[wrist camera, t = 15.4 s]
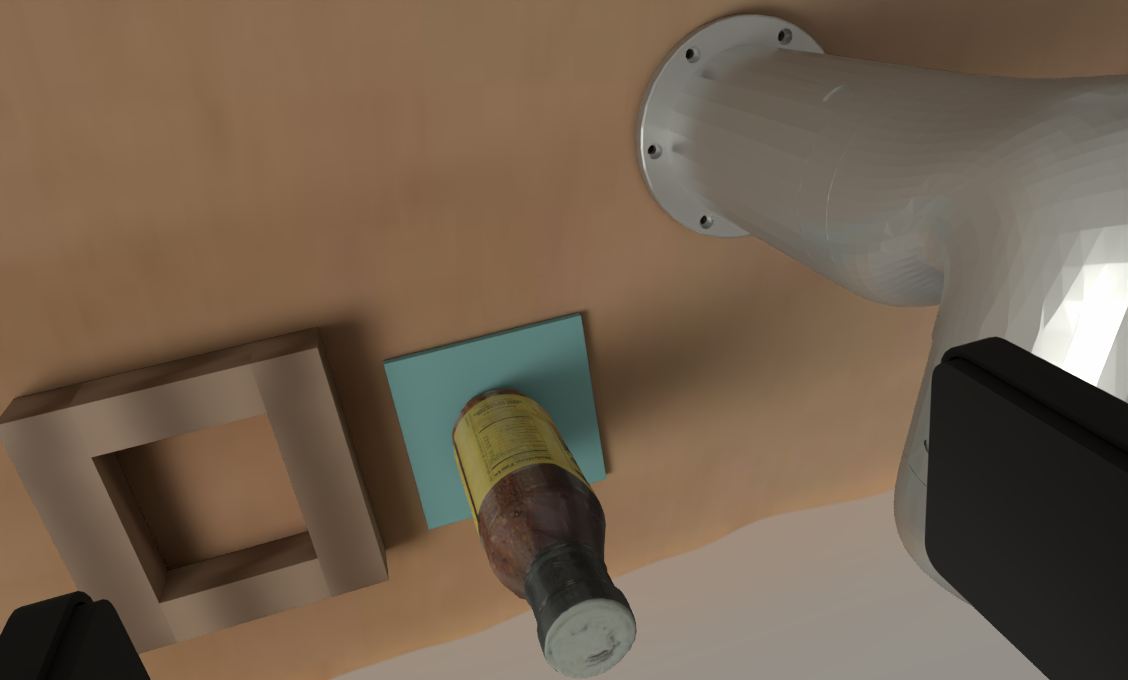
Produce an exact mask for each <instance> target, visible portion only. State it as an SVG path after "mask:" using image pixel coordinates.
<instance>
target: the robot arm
mask: <svg viewBox="0 0 1128 680" xmlns="http://www.w3.org/2000/svg"><path fill="white" fill-rule="evenodd" d="M779 33H781V37H780V39H779V40H778V35H779ZM688 49H689V50H690V51H691V54H690V56H689V58H686V51H687V50H688ZM651 145H653V151H652V152H651V153H648V148H649V147H650V146H651ZM636 150H637V159H638V163H639V167H640V170H641V174H642V177H643V179H644V182H645V184H646V186H647V188H648V190H649V192H650V194H651V195H652V197H653V198H654V199H655V201H656V202H657V203H658V204H659V206H660V207H661V208H662V209H663V210H664V211H665V212H666V213H667V214H669V215H670V216H671V217H672V218H673V219H674V220H676V221H677V222H679V223H680V224H682V225H684V226H685V227H687V228H688V229H691V230H693V231H695V232H698V233H700V234H703V235H707V236H713V237H719V238H738V237H744V236H749V235H754V236H755V237H757V238H759V239H760V240H762V241H764V242H766V243H767V244H769V245H771V246H772V247H774V248H776V249H778V250H779V251H781V252H783V253H784V254H786V255H788V256H790V257H791V258H793V259H795V260H796V261H798V262H800V263H802V264H803V265H805V266H807V267H808V268H810V269H812V270H814V271H815V272H817V273H819V274H820V275H822V276H824V277H826V278H827V279H829V280H831V281H832V282H834V283H836V284H838V285H840V286H842V287H844V288H845V289H847V290H849V291H851V292H852V293H854V294H856V295H858V296H861V297H863V298H865V299H868V300H870V301H873V302H877V303H881V304H886V305H890V306H898V307H924V306H933V305H939V304H940V306H939V310H938V314H937V318H936V321H935V325H934V329H933V332H932V340H933V342H932V346H931V350H930V354H929V357H928V361H927V365H926V368H925V372H924V376H923V379H922V383H921V387H920V391H919V394H918V398H917V402H916V405H915V409H914V413H913V416H912V420H911V424H910V428H909V431H908V435H907V439H906V442H905V446H904V450H903V453H902V457H901V461H900V465H899V469H898V475H897V480H896V485H895V495H894V516H895V522H896V526H897V530H898V533H899V536H900V538H901V541H902V542H903V545H904V547H905V549H906V550H907V552H908V553H909V555H910V556H911V557H912V558H913V560H914V561H915V562H916V564H917V565H918V566H919V567H920V568H921V569H922V570H923V571H924V572H925V573H926V574H927V575H929V577H930V578H932V579H933V580H934V581H935V582H936V583H937V584H939V585H940V586H941V587H943V588H944V589H946V590H947V591H948V592H950V593H951V594H953V595H955V596H956V597H958V598H959V599H961V600H962V601H964V602H966V603H968V604H970V605H972V606H973V607H974V608H975V609H976V610H977V611H978V612H979V613H980V614H981V615H982V616H984V617H985V618H986V619H987V620H988V621H989V622H990V623H991V624H992V625H993V626H994V627H995V628H996V629H997V630H998V631H999V632H1000V633H1001V634H1003V636H1004V637H1006V638H1007V639H1008V640H1009V641H1010V642H1011V643H1012V644H1013V645H1014V646H1015V647H1016V648H1017V649H1018V650H1019V651H1020V652H1021V653H1022V654H1023V655H1024V656H1025V657H1027V659H1028V660H1030V661H1031V662H1032V663H1033V664H1034V665H1035V666H1036V667H1037V668H1038V669H1039V670H1040V671H1041V672H1042V673H1043V674H1044V675H1045V676H1046V677H1047V678H1048V679H1049V680H1128V74H1121V75H1106V76H1092V77H1073V78H1012V77H1001V76H989V75H978V74H966V73H959V72H951V71H944V70H937V69H928V68H920V67H913V66H906V65H899V64H892V63H885V62H878V61H871V60H863V59H856V58H849V57H842V56H835V55H828V54H826V53H825V52H824V50H823V49H822V48H821V46H820V45H819V44H818V43H817V42H816V41H815V40H814V39H813V38H812V36H811V35H809V34H808V33H806V32H805V31H804V30H802V29H801V28H799V27H798V26H797V25H795V24H793V23H790V22H788V21H785V20H783V19H780V18H778V17H772V16H766V15H759V14H739V15H733V16H728V17H723V18H719V19H717V20H715V21H712V22H710V23H707V24H705V25H703V26H701V27H699V28H698V29H696V30H695V31H693V32H692V33H690V34H689V35H687V36H686V37H684V38H683V39H682V40H681V41H680V42H679V43H678V44H677V45H676V46H675V47H674V48H673V49H672V50H671V51H670V52H668V53H667V55H666V56H665V58H664V59H663V60H662V62H661V63H660V65H659V66H658V67H657V69H656V70H655V71H654V73H653V75H652V77H651V79H650V82H649V84H648V86H647V88H646V90H645V92H644V95H643V98H642V102H641V105H640V109H639V112H638V118H637V127H636ZM703 216H704V219H703V221H701V222H700V219H701V218H702V217H703ZM0 680H151V679H150V677H149V675H148V673H147V671H146V669H145V667H144V665H143V663H142V661H141V659H140V657H139V655H138V653H137V651H136V649H135V647H134V645H133V643H132V641H131V639H130V637H129V635H128V633H127V631H126V629H125V627H124V625H123V623H122V621H121V619H120V617H119V615H118V613H117V611H116V609H115V608H114V606H113V604H112V603H111V602H110V601H108V600H106V599H102V600H98V601H95V602H93V600H92V598H91V597H90V596H89V595H88V594H86V593H85V592H82V591H76V592H73V593H69V594H65V595H62V596H58V597H55V598H51V599H47V600H44V601H40V602H37V603H33V604H29V605H26V606H22V607H20V608H18V609H16V610H14V612H13V613H12V614H11V616H10V617H9V619H8V621H7V623H6V625H5V627H4V629H3V631H2V633H1V635H0Z"/></svg>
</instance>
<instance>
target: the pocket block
mask: <svg viewBox="0 0 1128 680" xmlns="http://www.w3.org/2000/svg"><path fill="white" fill-rule="evenodd" d="M265 413H267V414H268V417H269V420H270V423H271V426H272V429H273V431H274V434H275V437H276V440H277V443H278V446H279V449H280V451H281V454H282V457H283V460H284V463H285V466H286V469H287V471H288V474H289V477H290V480H291V483H292V486H293V489H294V491H295V494H296V497H297V500H298V503H299V506H300V509H301V511H302V514H303V517H304V520H305V523H306V526H307V529H308V532H305V533H301V534H298V535H294V536H290V537H287V538H283V539H280V540H276V541H273V542H269V543H265V544H262V545H258V546H255V547H251V548H247V549H244V550H240V551H237V552H233V553H230V554H226V555H222V556H219V557H215V558H212V559H208V560H205V561H201V562H197V563H194V564H190V565H187V566H183V567H179V568H176V569H172V570H169V571H168V570H167V568H166V566H165V563H164V561H163V559H162V557H161V555H160V552H159V550H158V548H157V546H156V543H155V541H154V539H153V537H152V535H151V532H150V530H149V528H148V526H147V523H146V521H145V519H144V517H143V515H142V512H141V510H140V508H139V506H138V503H137V501H136V499H135V497H134V495H133V492H132V490H131V488H130V486H129V484H128V481H127V479H126V477H125V475H124V472H123V470H122V468H121V466H120V464H119V461H118V459H117V457H116V455H115V451H119V450H123V449H127V448H131V447H135V446H139V445H143V444H146V443H150V442H154V441H158V440H162V439H166V438H170V437H174V436H178V435H182V434H186V433H190V432H194V431H198V430H202V429H206V428H210V427H214V426H218V425H222V424H226V423H230V422H234V421H237V420H241V419H245V418H249V417H253V416H257V415H261V414H265ZM0 439H1V441H2V443H3V445H4V447H5V449H6V451H7V453H8V455H9V457H10V459H11V461H12V463H13V465H14V467H15V468H16V470H17V472H18V474H19V476H20V478H21V480H22V482H23V484H24V486H25V488H26V490H27V492H28V494H29V496H30V498H31V499H32V501H33V503H34V505H35V507H36V509H37V511H38V513H39V515H40V517H41V519H42V521H43V523H44V525H45V527H46V529H47V531H48V532H49V534H50V536H51V538H52V540H53V542H54V544H55V546H56V548H57V550H58V552H59V554H60V556H61V558H62V560H63V562H64V563H65V565H66V567H67V569H68V571H69V573H70V575H71V577H72V579H73V581H74V583H75V585H76V587H77V589H78V591H82V592H85V593H86V594H88V595H89V596H90V597H91V598H92V600H93V602H95V601H98V600H102V599H106V600H108V601H110V602H111V603H112V604H113V606H114V608H115V609H116V611H117V613H118V615H119V617H120V619H121V621H122V623H123V625H124V627H125V629H126V631H127V633H128V635H129V637H130V639H131V641H132V643H133V645H134V647H135V649H136V651H137V653H138V654H140V653H143V652H147V651H150V650H154V649H157V648H160V647H164V646H167V645H171V644H174V643H177V642H181V641H184V640H187V639H191V638H194V637H198V636H201V635H204V634H208V633H211V632H215V631H218V630H221V629H225V628H228V627H232V626H235V625H238V624H242V623H245V622H249V621H252V620H255V619H259V618H262V617H266V616H269V615H272V614H276V613H279V612H283V611H286V610H289V609H293V608H296V607H300V606H303V605H306V604H310V603H313V602H317V601H320V600H323V599H327V598H330V597H334V596H337V595H340V594H344V593H347V592H351V591H354V590H357V589H361V588H364V587H368V586H371V585H374V584H378V583H381V582H385V581H388V580H389V577H388V568H387V559H386V551H385V547H384V544H383V541H382V538H381V534H380V531H379V528H378V524H377V521H376V518H375V515H374V511H373V508H372V505H371V501H370V498H369V495H368V492H367V488H366V485H365V482H364V478H363V475H362V472H361V469H360V465H359V462H358V459H357V455H356V452H355V449H354V446H353V442H352V439H351V436H350V432H349V429H348V426H347V423H346V419H345V416H344V413H343V409H342V406H341V403H340V400H339V396H338V393H337V390H336V386H335V383H334V380H333V377H332V373H331V370H330V367H329V363H328V360H327V357H326V354H325V350H324V347H323V344H322V340H321V337H320V334H319V331H318V327H315V328H311V329H307V330H303V331H299V332H294V333H290V334H286V335H282V336H278V337H273V338H269V339H265V340H261V341H256V342H252V343H248V344H244V345H240V346H235V347H231V348H227V349H223V350H219V351H214V352H210V353H206V354H202V355H198V356H193V357H189V358H185V359H181V360H177V361H172V362H168V363H164V364H160V365H155V366H151V367H147V368H143V369H139V370H134V371H130V372H126V373H122V374H118V375H113V376H109V377H105V378H101V379H97V380H92V381H88V382H84V383H80V384H75V385H71V386H67V387H63V388H59V389H54V390H50V391H46V392H42V393H38V394H33V395H29V396H25V397H21V398H17V399H13V400H12V402H11V403H10V404H9V406H8V407H7V408H6V410H5V411H4V413H3V414H2V415H1V417H0Z"/></svg>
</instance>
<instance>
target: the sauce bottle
mask: <svg viewBox="0 0 1128 680" xmlns="http://www.w3.org/2000/svg"><path fill="white" fill-rule="evenodd" d="M452 442H453V445H454V446H453V449H454V457H455V460H456V464H457V467H458V471H459V474H460V477H461V480H462V484H463V487H464V490H465V493H466V496H467V500H468V503H469V506H470V509H471V512H472V516H473V519H474V522H475V525H476V528H477V532H478V535H479V538H480V541H481V543H482V545H483V547H484V549H485V550H486V553H487V556H488V559H489V562H490V566H491V568H492V570H493V572H494V573H495V575H496V576H497V578H498V579H499V580H500V582H502V584H503V585H504V586H506V587H507V588H508V589H509V590H511V591H512V592H513V593H514V594H515V595H517V596H518V597H519V598H522V599H526V600H527V602H528V603H529V605H530V606H531V607H532V609H533V612H534V615H535V618H536V621H537V624H538V625H537V632H538V638H539V642H540V645H541V648H542V651H543V653H544V656H545V658H546V660H547V662H548V663H549V665H550V666H551V667H552V668H554V669H555V670H556V671H557V672H559V673H561V674H563V675H565V676H568V677H572V678H588V677H592V676H596V675H599V674H601V673H604V672H606V671H607V670H609V669H610V668H612V667H613V666H615V665H616V664H617V663H618V662H619V661H620V660H621V659H622V658H623V657H624V656H625V655H626V653H627V652H628V651H629V650H630V648H631V646H632V644H633V642H634V641H635V635H636V622H635V618H634V615H633V613H632V610H631V608H630V606H629V603H628V601H627V599H626V598H625V596H624V594H623V593H622V592H621V591H620V590H619V589H618V588H616V587H615V586H614V584H613V582H612V580H611V578H610V576H609V574H608V573H607V567H606V565H605V562H604V541H605V527H606V523H605V516H604V512H603V509H602V507H601V504H600V502H599V500H598V499H597V497H596V495H595V493H594V491H593V490H592V488H591V487H590V485H589V483H588V482H587V480H586V478H585V477H584V475H583V473H582V471H581V469H580V468H579V466H578V464H577V463H576V461H575V459H574V457H573V455H572V453H571V452H570V450H569V449H568V447H567V446H566V444H565V442H564V440H563V439H562V437H561V435H560V433H559V431H558V430H557V428H556V426H555V425H554V423H553V421H552V420H551V418H550V416H549V415H548V413H547V412H546V411H545V409H544V408H543V407H542V406H541V405H540V404H539V403H537V402H536V401H535V400H533V399H532V398H530V397H529V396H528V395H526V394H523V393H521V392H519V391H516V390H514V389H509V388H504V389H497V390H492V391H489V392H486V393H482V394H480V395H479V396H477V397H474V398H472V399H471V400H470V401H468V402H467V404H466V405H465V407H464V408H463V409H462V410H461V411H460V414H459V416H458V418H457V420H456V422H455V426H454V428H453V432H452Z"/></svg>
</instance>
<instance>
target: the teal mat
mask: <svg viewBox="0 0 1128 680" xmlns="http://www.w3.org/2000/svg"><path fill="white" fill-rule="evenodd" d="M383 363H384V367H385V371H386V375H387V378H388V382H389V386H390V389H391V393H392V397H393V400H394V404H395V408H396V411H397V415H398V419H399V422H400V426H401V430H402V433H403V437H404V441H405V444H406V448H407V452H408V455H409V459H410V463H411V466H412V470H413V474H414V477H415V481H416V485H417V488H418V492H419V496H420V499H421V503H422V507H423V510H424V514H425V518H426V521H427V525H428V529H433V528H436V527H440V526H443V525H447V524H450V523H454V522H457V521H461V520H464V519H468V518H471V517H473V516H472V512H471V509H470V506H469V503H468V500H467V496H466V493H465V490H464V487H463V484H462V480H461V477H460V474H459V471H458V467H457V464H456V460H455V457H454V449H453V446H454V445H453V442H452V432H453V428H454V426H455V422H456V420H457V418H458V416H459V414H460V411H461V410H462V409H463V408H464V407H465V405H466V404H467V402H468V401H470V400H471V399H472V398H474V397H477V396H479V395H480V394H482V393H486V392H489V391H492V390H497V389H504V388H509V389H514V390H516V391H519V392H521V393H523V394H526V395H528V396H529V397H530V398H532V399H533V400H535V401H536V402H537V403H539V404H540V405H541V406H542V407H543V408H544V409H545V411H546V412H547V413H548V415H549V416H550V418H551V420H552V421H553V423H554V425H555V426H556V428H557V430H558V431H559V433H560V435H561V437H562V439H563V440H564V442H565V444H566V446H567V447H568V449H569V450H570V452H571V453H572V455H573V457H574V459H575V461H576V463H577V464H578V466H579V468H580V469H581V471H582V473H583V475H584V477H585V478H586V480H587V482H588V483H589V484H590V483H594V482H597V481H601V480H604V479H606V474H605V468H604V461H603V455H602V448H601V442H600V435H599V429H598V422H597V416H596V409H595V403H594V396H593V390H592V384H591V377H590V371H589V364H588V358H587V351H586V345H585V338H584V332H583V325H582V319H581V315H580V314H579V313H575V314H571V315H567V316H562V317H558V318H554V319H550V320H546V321H542V322H538V323H534V324H530V325H526V326H522V327H518V328H514V329H510V330H506V331H502V332H498V333H494V334H490V335H486V336H482V337H478V338H474V339H470V340H466V341H462V342H458V343H454V344H450V345H446V346H441V347H437V348H433V349H429V350H425V351H421V352H417V353H413V354H409V355H405V356H401V357H397V358H393V359H389V360H385V361H383Z"/></svg>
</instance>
